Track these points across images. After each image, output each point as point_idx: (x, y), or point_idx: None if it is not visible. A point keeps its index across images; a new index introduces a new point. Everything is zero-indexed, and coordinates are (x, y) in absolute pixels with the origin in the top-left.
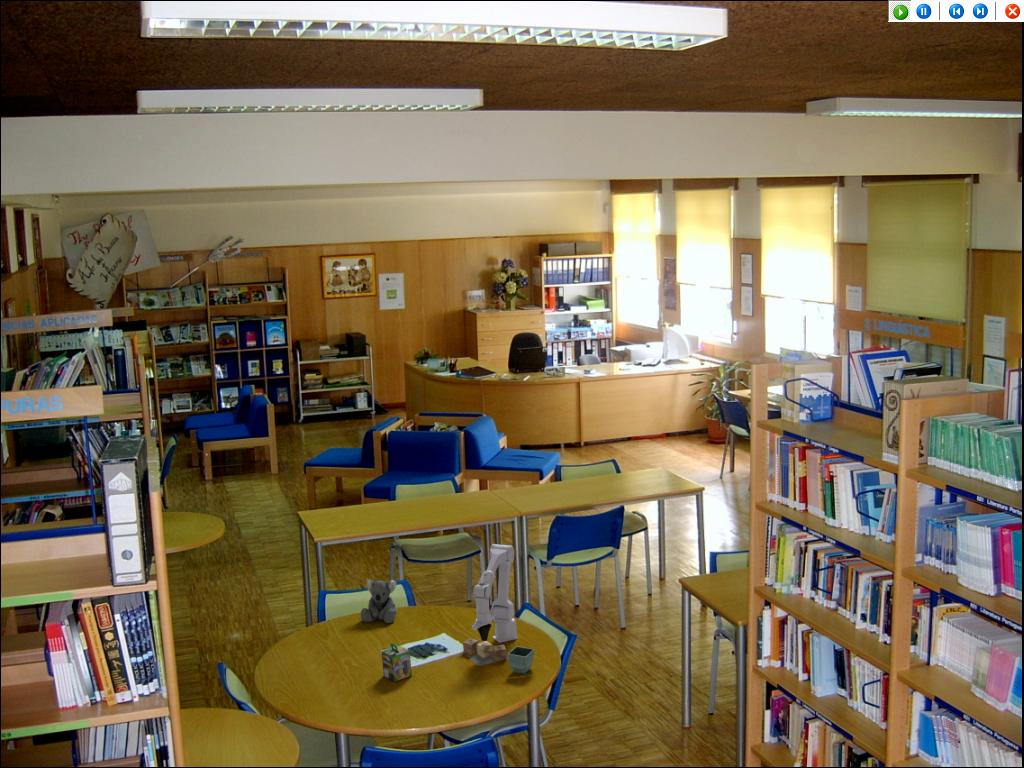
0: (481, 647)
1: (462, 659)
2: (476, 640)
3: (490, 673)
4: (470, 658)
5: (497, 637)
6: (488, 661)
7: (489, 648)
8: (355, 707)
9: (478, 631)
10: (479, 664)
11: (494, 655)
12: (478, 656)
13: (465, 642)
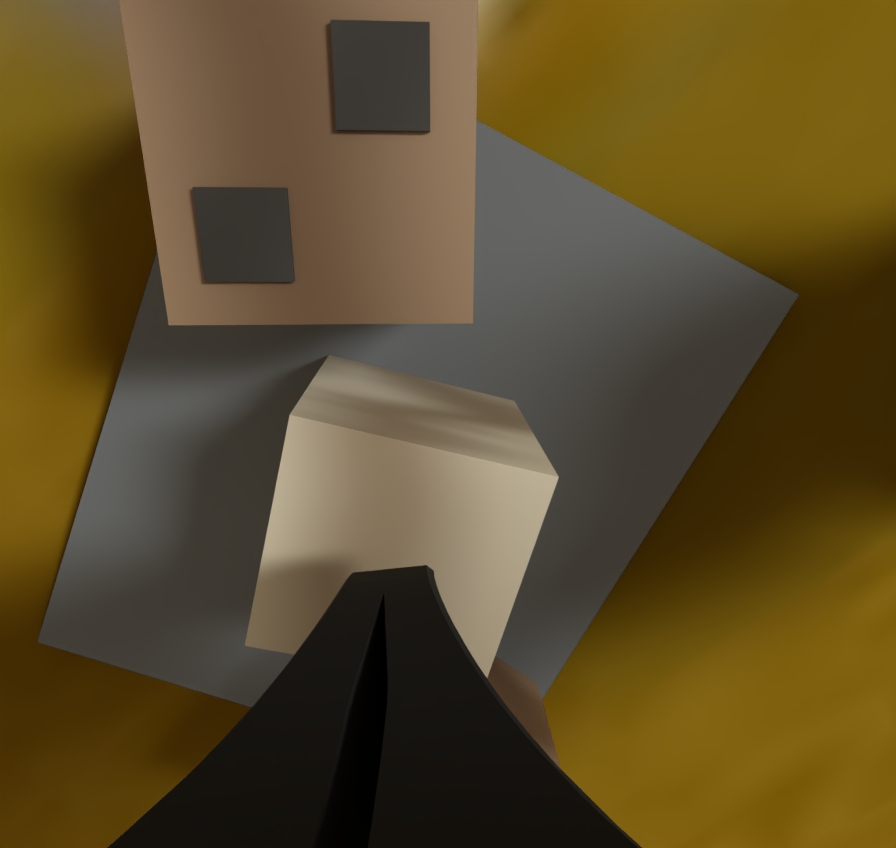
0: (261, 578)
1: (36, 245)
2: (449, 258)
3: (45, 840)
4: (135, 368)
5: None
6: (254, 648)
7: None
8: None
9: (152, 811)
10: (90, 621)
11: None
12: (283, 424)
13: (145, 65)
